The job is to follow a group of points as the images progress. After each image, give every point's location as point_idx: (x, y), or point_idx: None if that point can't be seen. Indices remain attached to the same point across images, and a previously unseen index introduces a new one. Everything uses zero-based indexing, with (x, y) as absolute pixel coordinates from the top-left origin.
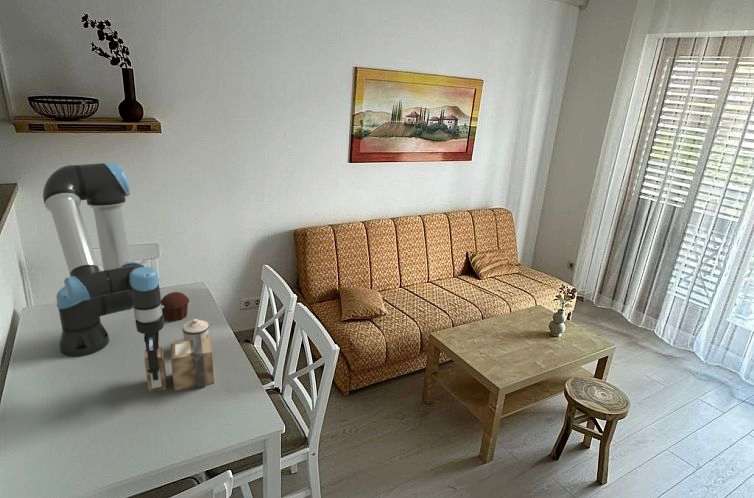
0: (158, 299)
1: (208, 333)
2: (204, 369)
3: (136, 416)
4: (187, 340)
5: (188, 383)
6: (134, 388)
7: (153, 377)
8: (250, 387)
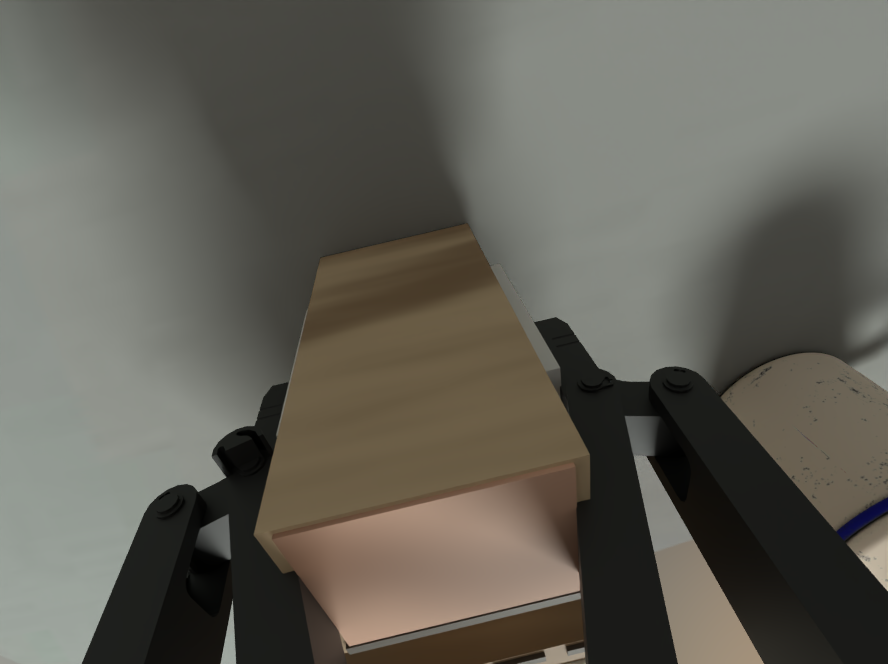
0: None
1: None
2: None
3: (7, 251)
4: (811, 453)
5: None
6: (378, 123)
7: (261, 419)
8: None
